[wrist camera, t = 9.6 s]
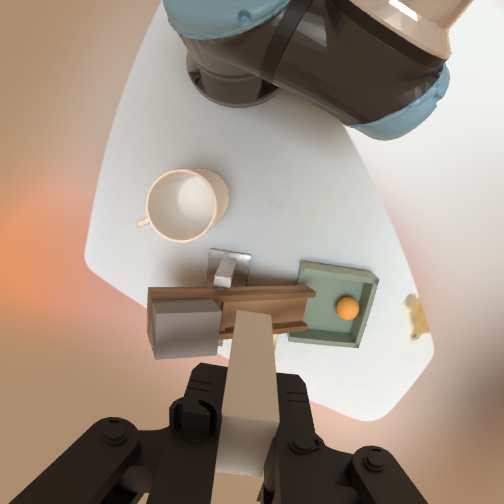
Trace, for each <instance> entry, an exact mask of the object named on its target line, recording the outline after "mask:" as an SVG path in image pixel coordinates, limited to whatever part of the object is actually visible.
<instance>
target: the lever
mask: <svg viewBox="0 0 504 504" xmlns="http://www.w3.org/2000/svg"><path fill="white" fill-rule="evenodd" d="M315 296H316V291H314V290H313V289H311V288H310V287H308V286H307V285H285V286H247V287H230V288H227V287H221V286H218V287H148V303H147V334H148V337H149V341H150V344H151V347H152V350H153V353H154V357H155V359H156V360H157V359H175V358H189V357H201V356H213V355H217V348H218V340H222V339H233V333H234V326H235V320H236V313H237V310H242V311H248V312H255V313H262V314H269V315H271V319H272V331H273V343H274V351H275V346H276V342H277V337H278V334H281V333H289V332H297V331H304V330H307V328H308V325H307V324H306V323H305V322H304V321H303V317H304V313H305V308H306V304H307V300H308V298H312V297H315Z"/></svg>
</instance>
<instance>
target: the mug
mask: <svg viewBox="0 0 504 504" xmlns="http://www.w3.org/2000/svg"><path fill="white" fill-rule="evenodd" d="M228 205H229V191H228V187H227V185H226V183H225V182H224V180H223V179H222V178H221V177H220V176H219V175H218V174H216V173H215V172H213V171H210V170H207V169H194V170H189V169H176V170H172V171H169V172H166V173H164V174H163V175H161V176H160V177H159V178H157V179H156V180H155V182H154V183H153V184H152V186H151V187H150V189H149V192H148V194H147V198H146V213H147V217H146V218H144V219H142V220H139V221H137V222H136V226H137V227H138V228H140V227H142V226H144V225H147V224H149V223H150V224H151V226H152V227H153V229H154V230H155V231H156V232H157V233H158V234H159V235H160V236H162V237H163V238H165V239H167V240H170V241H173V242H179V243H185V242H190V241H194V240H196V239H198V238H200V237H201V236H203V235H204V234H205V233H206V232H207V231H208V230H209V229H210V228H211V227H212V226H213V225H214V224H215V223H217V222H218V221H219V220H220V219H221V218H222V217H223V216H224V214H225V213H226V211H227V209H228Z"/></svg>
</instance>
